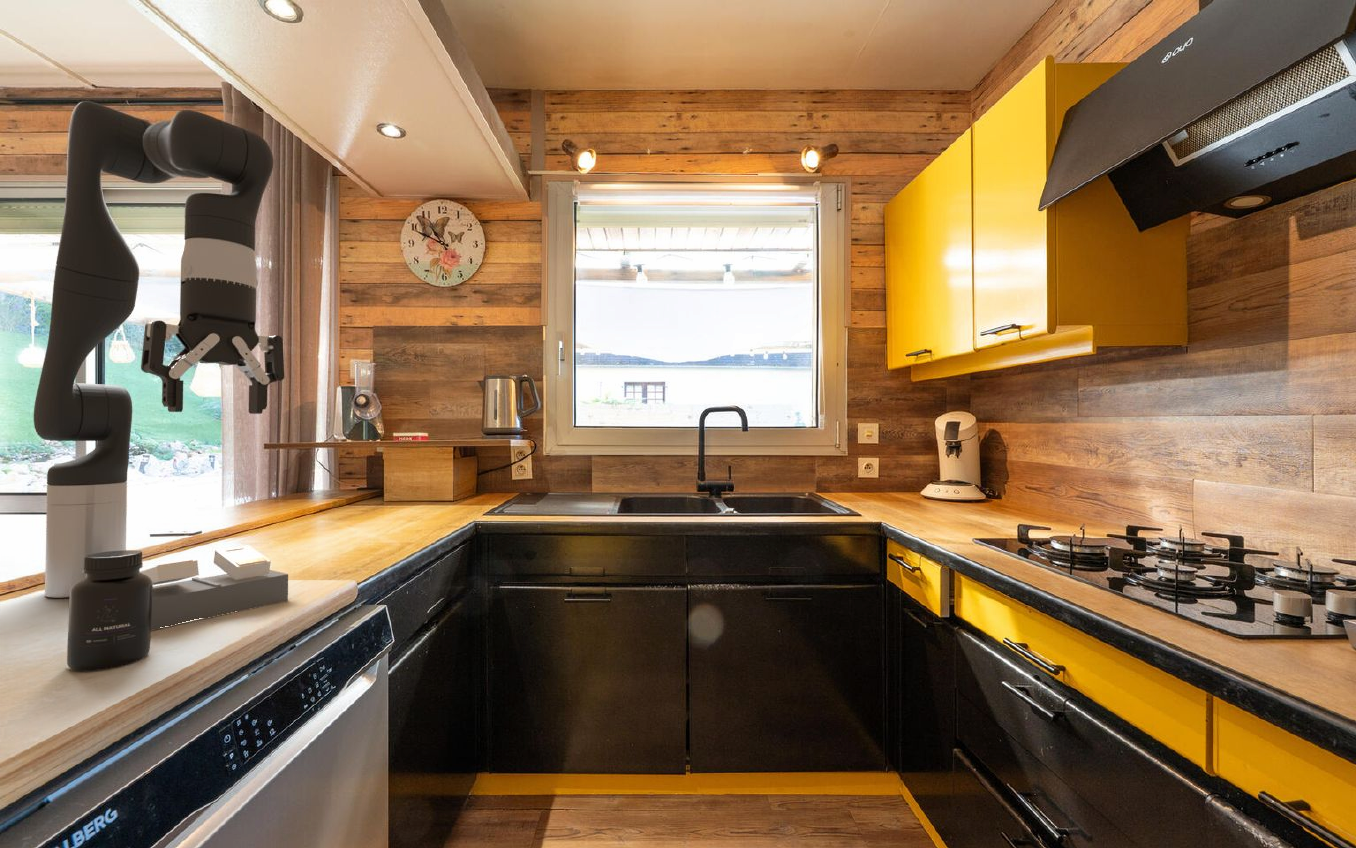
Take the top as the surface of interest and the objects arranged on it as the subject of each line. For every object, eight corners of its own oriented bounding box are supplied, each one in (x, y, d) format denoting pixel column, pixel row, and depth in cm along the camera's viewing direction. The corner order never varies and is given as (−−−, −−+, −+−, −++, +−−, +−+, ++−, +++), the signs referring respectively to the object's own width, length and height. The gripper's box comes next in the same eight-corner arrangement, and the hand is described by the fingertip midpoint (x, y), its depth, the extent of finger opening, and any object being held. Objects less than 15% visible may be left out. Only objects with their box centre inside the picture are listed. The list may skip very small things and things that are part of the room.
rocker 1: (137, 587, 82) (136, 571, 82) (177, 581, 86) (175, 565, 86) (158, 581, 79) (157, 565, 79) (198, 575, 82) (197, 559, 83)
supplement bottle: (99, 675, 63) (101, 561, 64) (49, 670, 65) (51, 558, 65) (166, 652, 70) (168, 549, 70) (120, 648, 72) (122, 546, 72)
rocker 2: (213, 562, 90) (215, 549, 90) (246, 557, 94) (248, 544, 94) (235, 580, 87) (237, 565, 86) (268, 574, 90) (270, 560, 90)
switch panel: (112, 623, 81) (112, 591, 81) (261, 593, 96) (261, 566, 96) (136, 634, 76) (136, 600, 76) (287, 600, 92) (288, 572, 92)
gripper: (267, 296, 83) (264, 414, 83) (134, 273, 71) (131, 411, 71) (296, 291, 79) (293, 414, 79) (160, 265, 67) (157, 410, 67)
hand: (217, 412), depth 75 cm, fingers open, 8 cm apart
